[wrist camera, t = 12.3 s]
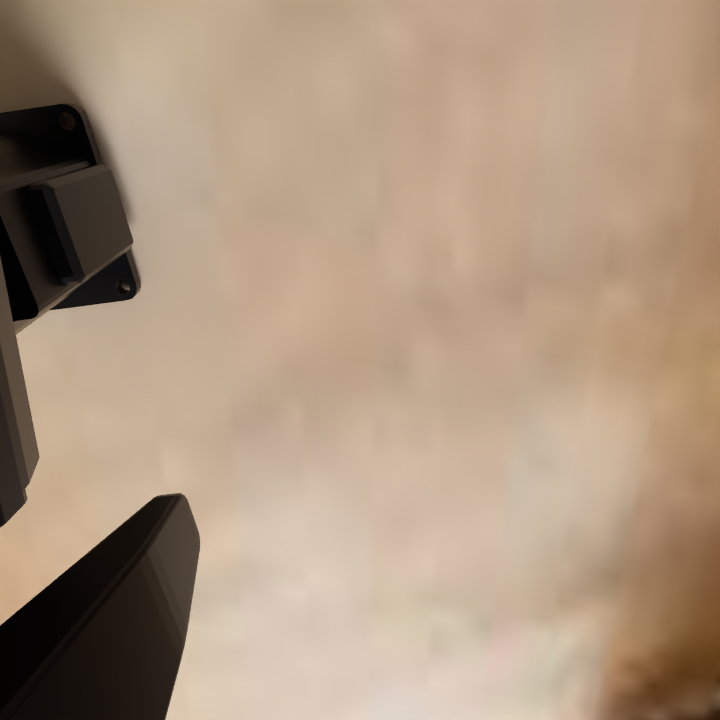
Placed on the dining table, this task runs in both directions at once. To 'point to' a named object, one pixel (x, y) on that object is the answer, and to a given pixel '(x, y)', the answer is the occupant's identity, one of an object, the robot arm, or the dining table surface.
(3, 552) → the dining table surface
